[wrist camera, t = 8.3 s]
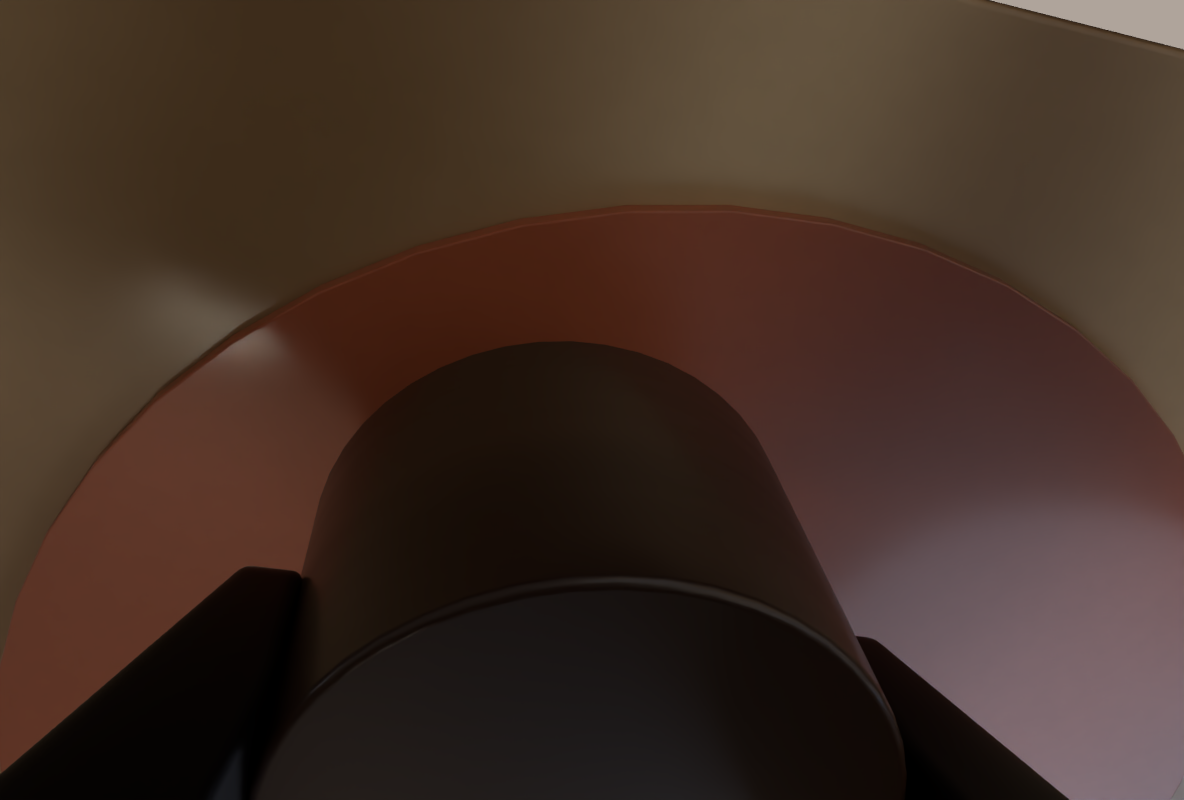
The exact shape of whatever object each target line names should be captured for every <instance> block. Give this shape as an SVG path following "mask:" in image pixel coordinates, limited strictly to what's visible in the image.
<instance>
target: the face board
mask: <svg viewBox="0 0 1184 800" xmlns="http://www.w3.org/2000/svg"><path fill="white" fill-rule="evenodd" d="M551 341H575V342H585V343H595V344H604V345H609V346H613V347H618V348H622V349H626V350H631V351H635V352H639V353H642V354H644V355H647V356H650V357H653V358H655V359H658V360H661V361H663V362H666V363H669V364H671V365H672V366H674V367H676V368H678V369H680V370H682V371H684V372H686V373H688V374H690V375H691V376H693V377H695V378H697V379H698V380H699V381H701V382H702V383H704V384H705V385H706V386H708V387H709V388H711V389H712V390H713V391H715V392H716V393H718V394H719V395H720V396H721V397H722V398H723V399H724V400H725V401H726V402H727V403H728V404H729V405H730V406H732V407H733V408H734V409H735V410H736V411H737V412H738V413H739V414H740V415H741V417H742V418H743V419H744V421H745V422H746V423H747V425H748V426H749V427H750V428H751V430H752V431H753V432H754V434H755V435H756V436H757V438H758V440H759V442H760V444H761V446H762V447H763V449H764V451H765V453H766V455H767V457H768V459H769V460H770V463H771V465H772V467H773V469H774V471H775V473H776V475H777V477H778V479H779V481H780V483H781V485H782V487H783V489H784V491H785V493H786V495H787V497H788V499H789V501H790V503H791V505H792V507H793V509H794V511H795V513H796V515H797V518H798V520H799V522H800V524H801V526H802V528H803V530H804V532H805V534H806V536H807V538H808V540H809V542H810V544H811V546H812V548H813V550H814V552H815V554H816V556H817V558H818V560H819V562H820V564H821V566H822V568H823V570H824V573H825V575H826V577H827V579H828V581H829V583H830V585H831V587H832V589H833V591H834V593H835V595H836V597H837V599H838V601H839V603H840V605H841V607H842V609H843V611H844V613H845V615H846V617H847V619H848V621H849V623H850V625H851V628H852V630H853V632H854V634H855V636H862V637H869V638H872V639H874V640H877V641H878V642H879V643H881V644H882V645H883V646H884V647H886V648H887V649H888V650H889V651H890V652H892V653H893V654H894V655H895V656H896V657H898V658H899V659H900V660H901V661H902V662H904V663H905V664H906V665H907V666H909V667H910V668H911V669H912V670H913V671H915V672H916V673H917V674H918V675H919V676H921V677H922V678H923V679H924V680H925V681H927V682H928V683H929V684H930V685H932V686H933V687H934V688H935V689H936V690H938V691H939V692H940V693H941V694H942V695H944V696H945V697H946V698H947V699H948V700H950V701H951V702H952V703H953V704H955V705H956V706H957V707H958V708H959V709H961V710H962V711H963V712H964V713H965V714H967V715H968V716H969V717H970V718H971V719H973V720H974V721H975V722H976V723H977V724H979V725H980V726H981V727H982V728H984V729H985V730H986V731H987V732H988V733H990V734H991V735H992V736H993V737H994V738H996V739H997V740H998V741H999V742H1000V743H1002V744H1003V745H1004V746H1005V747H1007V748H1008V749H1009V750H1010V751H1011V752H1013V753H1014V754H1015V755H1016V756H1017V757H1019V758H1020V759H1021V760H1022V761H1023V762H1025V763H1026V764H1027V765H1028V766H1029V767H1031V768H1032V769H1033V770H1034V771H1036V772H1037V773H1038V774H1039V775H1040V776H1042V777H1043V778H1044V779H1045V780H1046V781H1048V782H1049V783H1050V784H1051V785H1052V786H1054V787H1055V788H1056V789H1057V790H1059V791H1060V792H1061V793H1062V794H1063V795H1065V796H1066V797H1067V798H1068V799H1069V800H1184V50H1183V49H1180V48H1176V47H1171V46H1168V45H1164V44H1160V43H1156V42H1152V41H1148V40H1144V39H1140V38H1136V37H1132V36H1128V35H1124V34H1120V33H1117V32H1112V31H1109V30H1105V29H1100V28H1097V27H1093V26H1089V25H1085V24H1081V23H1077V22H1073V21H1069V20H1065V19H1061V18H1057V17H1053V16H1050V15H1046V14H1041V13H1037V12H1034V11H1030V10H1026V9H1022V8H1018V7H1014V6H1010V5H1006V4H1002V3H998V2H994V1H990V0H0V774H1V773H2V772H3V771H4V770H6V769H7V768H8V767H9V766H10V765H11V764H13V763H14V762H15V761H16V760H17V759H18V758H20V757H21V756H22V755H23V754H24V753H25V752H27V751H28V750H29V749H30V748H31V747H32V746H34V745H35V744H36V743H37V742H38V741H39V740H41V739H42V738H43V737H44V736H45V735H46V734H48V733H49V732H50V731H51V730H52V729H53V728H55V727H56V726H57V725H58V724H59V723H60V722H62V721H63V720H64V719H65V718H66V717H67V716H69V715H70V714H71V713H72V712H73V711H74V710H76V709H77V708H78V707H79V706H80V705H81V704H83V703H84V702H85V701H86V700H87V699H88V698H90V697H91V696H92V695H93V694H94V693H95V692H97V691H98V690H99V689H100V688H101V687H102V686H104V685H105V684H106V683H107V682H108V681H109V680H111V679H112V678H113V677H114V676H115V675H116V674H118V673H119V672H120V671H121V670H122V669H123V668H125V667H126V666H127V665H128V664H129V663H130V662H132V661H133V660H134V659H135V658H136V657H137V656H139V655H140V654H141V653H142V652H143V651H144V650H146V649H147V648H148V647H149V646H150V645H151V644H153V643H154V642H155V641H156V640H157V639H158V638H160V637H161V636H162V635H163V634H164V633H165V632H167V631H168V630H169V629H170V628H171V627H172V626H174V625H175V624H176V623H177V622H178V621H179V620H181V619H182V618H183V617H184V616H185V615H186V614H188V613H189V612H190V611H191V610H192V609H193V608H195V607H196V606H197V605H198V604H199V603H200V602H202V601H203V600H204V599H205V598H206V597H207V596H209V595H210V594H211V593H212V592H213V591H214V590H216V589H217V588H218V587H219V586H220V585H221V584H223V583H224V582H225V581H226V580H227V579H228V578H230V577H231V576H232V575H233V574H234V573H235V572H237V571H238V570H239V569H241V568H243V567H246V566H259V567H268V568H276V569H285V570H293V571H296V572H298V573H299V574H300V575H301V573H302V569H303V565H304V561H305V557H306V553H307V549H308V545H309V541H310V536H311V532H312V528H313V524H314V520H315V516H316V512H317V508H318V504H319V500H320V497H321V494H322V491H323V489H324V486H325V484H326V481H327V478H328V476H329V473H330V471H331V469H332V468H333V466H334V464H335V462H336V461H337V459H338V457H339V455H340V454H341V452H342V450H343V448H344V447H345V446H346V444H347V443H348V442H349V440H350V439H351V438H352V437H353V435H354V434H355V433H356V432H357V430H358V429H359V428H360V426H361V425H362V424H363V423H364V422H365V421H366V420H367V419H368V418H369V417H370V416H371V415H372V414H373V413H374V412H375V411H377V410H378V409H379V408H380V407H381V406H382V405H383V404H384V403H385V402H386V401H388V400H389V399H390V398H392V397H393V396H395V395H396V394H397V393H399V392H400V391H401V390H403V389H404V388H406V387H407V386H408V385H410V384H411V383H413V382H415V381H417V380H418V379H420V378H422V377H424V376H426V375H427V374H429V373H431V372H433V371H435V370H437V369H438V368H440V367H443V366H445V365H448V364H450V363H453V362H455V361H458V360H460V359H463V358H466V357H468V356H471V355H473V354H477V353H481V352H485V351H489V350H493V349H496V348H500V347H504V346H511V345H518V344H525V343H533V342H551Z"/></svg>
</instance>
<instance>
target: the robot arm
mask: <svg viewBox="0 0 1184 800" xmlns="http://www.w3.org/2000/svg"><path fill="white" fill-rule="evenodd" d="M301 584H302V578H301V575H300V574H299V573H298V572H296V571H293V570H285V569H276V568H268V567H259V566H246V567H243V568H241V569H239V570H238V571H237V572H235V573H234V574H233V575H232V576H231V577H230V578H228V579H227V580H226V581H225V582H224V583H223V584H221V585H220V586H219V587H218V588H217V589H216V590H214V591H213V592H212V593H211V594H210V595H209V596H207V597H206V598H205V599H204V600H203V601H202V602H200V603H199V604H198V605H197V606H196V607H195V608H193V609H192V610H191V611H190V612H189V613H188V614H186V615H185V616H184V617H183V618H182V619H181V620H179V621H178V622H177V623H176V624H175V625H174V626H172V627H171V628H170V629H169V630H168V631H167V632H165V633H164V634H163V635H162V636H161V637H160V638H158V639H157V640H156V641H155V642H154V643H153V644H151V645H150V646H149V647H148V648H147V649H146V650H144V651H143V652H142V653H141V654H140V655H139V656H137V657H136V658H135V659H134V660H133V661H132V662H130V663H129V664H128V665H127V666H126V667H125V668H123V669H122V670H121V671H120V672H119V673H118V674H116V675H115V676H114V677H113V678H112V679H111V680H109V681H108V682H107V683H106V684H105V685H104V686H102V687H101V688H100V689H99V690H98V691H97V692H95V693H94V694H93V695H92V696H91V697H90V698H88V699H87V700H86V701H85V702H84V703H83V704H81V705H80V706H79V707H78V708H77V709H76V710H74V711H73V712H72V713H71V714H70V715H69V716H67V717H66V718H65V719H64V720H63V721H62V722H60V723H59V724H58V725H57V726H56V727H55V728H53V729H52V730H51V731H50V732H49V733H48V734H46V735H45V736H44V737H43V738H42V739H41V740H39V741H38V742H37V743H36V744H35V745H34V746H32V747H31V748H30V749H29V750H28V751H27V752H25V753H24V754H23V755H22V756H21V757H20V758H18V759H17V760H16V761H15V762H14V763H13V764H11V765H10V766H9V767H8V768H7V769H6V770H4V771H3V772H2V773H1V774H0V800H247V797H248V790H249V785H250V780H251V776H252V773H253V770H254V766H255V763H256V759H257V756H258V753H259V749H260V746H261V743H262V739H263V736H264V732H265V729H266V725H267V721H268V717H269V714H270V710H271V706H272V702H273V698H274V694H275V690H276V686H277V682H278V678H279V674H280V670H281V666H282V661H283V657H284V653H285V649H286V645H287V641H288V637H289V633H290V629H291V625H292V621H293V616H294V612H295V608H296V604H297V600H298V596H299V592H300V588H301ZM856 638H857V640H858V642H859V644H860V646H861V648H862V650H863V652H864V654H865V656H866V658H867V660H868V662H869V664H870V666H871V668H872V670H873V672H874V674H875V676H876V678H877V680H878V683H879V685H880V687H881V689H882V691H883V693H884V695H885V697H886V699H887V701H888V703H889V705H890V707H891V709H892V711H893V713H894V716H895V719H896V722H897V725H898V728H899V731H900V734H901V737H902V740H903V745H904V753H905V761H906V769H907V781H906V796H905V800H1069V799H1068V798H1067V797H1066V796H1065V795H1063V794H1062V793H1061V792H1060V791H1059V790H1057V789H1056V788H1055V787H1054V786H1052V785H1051V784H1050V783H1049V782H1048V781H1046V780H1045V779H1044V778H1043V777H1042V776H1040V775H1039V774H1038V773H1037V772H1036V771H1034V770H1033V769H1032V768H1031V767H1029V766H1028V765H1027V764H1026V763H1025V762H1023V761H1022V760H1021V759H1020V758H1019V757H1017V756H1016V755H1015V754H1014V753H1013V752H1011V751H1010V750H1009V749H1008V748H1007V747H1005V746H1004V745H1003V744H1002V743H1000V742H999V741H998V740H997V739H996V738H994V737H993V736H992V735H991V734H990V733H988V732H987V731H986V730H985V729H984V728H982V727H981V726H980V725H979V724H977V723H976V722H975V721H974V720H973V719H971V718H970V717H969V716H968V715H967V714H965V713H964V712H963V711H962V710H961V709H959V708H958V707H957V706H956V705H955V704H953V703H952V702H951V701H950V700H948V699H947V698H946V697H945V696H944V695H942V694H941V693H940V692H939V691H938V690H936V689H935V688H934V687H933V686H932V685H930V684H929V683H928V682H927V681H925V680H924V679H923V678H922V677H921V676H919V675H918V674H917V673H916V672H915V671H913V670H912V669H911V668H910V667H909V666H907V665H906V664H905V663H904V662H902V661H901V660H900V659H899V658H898V657H896V656H895V655H894V654H893V653H892V652H890V651H889V650H888V649H887V648H886V647H884V646H883V645H882V644H881V643H879V642H878V641H877V640H874V639H872V638H869V637H862V636H856Z"/></svg>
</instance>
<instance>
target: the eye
mask: <svg viewBox="0 0 1184 800" xmlns="http://www.w3.org/2000/svg"><path fill="white" fill-rule="evenodd" d="M301 578H302V584H301V588H300V592H299V596H298V600H297V604H296V608H295V612H294V616H293V621H292V625H291V629H290V633H289V637H288V641H287V645H286V649H285V653H284V657H283V661H282V666H281V670H280V674H279V678H278V682H277V686H276V690H275V694H274V698H273V702H272V706H271V710H270V714H269V717H268V721H267V725H266V729H265V732H264V736H263V739H262V743H261V746H260V749H259V753H258V756H257V759H256V763H255V766H254V770H253V773H252V776H251V780H250V785H249V790H248V797H247V800H905V796H906V781H907V769H906V761H905V753H904V745H903V740H902V737H901V734H900V731H899V728H898V725H897V722H896V719H895V716H894V713H893V711H892V709H891V707H890V705H889V703H888V701H887V699H886V697H885V695H884V693H883V691H882V689H881V687H880V685H879V683H878V680H877V678H876V676H875V674H874V672H873V670H872V668H871V666H870V664H869V662H868V660H867V658H866V656H865V654H864V652H863V650H862V648H861V646H860V644H859V642H858V640H857V638H856V636H855V634H854V632H853V630H852V628H851V625H850V623H849V621H848V619H847V617H846V615H845V613H844V611H843V609H842V607H841V605H840V603H839V601H838V599H837V597H836V595H835V593H834V591H833V589H832V587H831V585H830V583H829V581H828V579H827V577H826V575H825V573H824V570H823V568H822V566H821V564H820V562H819V560H818V558H817V556H816V554H815V552H814V550H813V548H812V546H811V544H810V542H809V540H808V538H807V536H806V534H805V532H804V530H803V528H802V526H801V524H800V522H799V520H798V518H797V515H796V513H795V511H794V509H793V507H792V505H791V503H790V501H789V499H788V497H787V495H786V493H785V491H784V489H783V487H782V485H781V483H780V481H779V479H778V477H777V475H776V473H775V471H774V469H773V467H772V465H771V463H770V460H769V459H768V457H767V455H766V453H765V451H764V449H763V447H762V446H761V444H760V442H759V440H758V438H757V436H756V435H755V434H754V432H753V431H752V430H751V428H750V427H749V426H748V425H747V423H746V422H745V421H744V419H743V418H742V417H741V415H740V414H739V413H738V412H737V411H736V410H735V409H734V408H733V407H732V406H730V405H729V404H728V403H727V402H726V401H725V400H724V399H723V398H722V397H721V396H720V395H719V394H718V393H716V392H715V391H713V390H712V389H711V388H709V387H708V386H706V385H705V384H704V383H702V382H701V381H699V380H698V379H697V378H695V377H693V376H691V375H690V374H688V373H686V372H684V371H682V370H680V369H678V368H676V367H674V366H672V365H671V364H669V363H666V362H663V361H661V360H658V359H655V358H653V357H650V356H647V355H644V354H642V353H639V352H635V351H631V350H626V349H622V348H618V347H613V346H609V345H604V344H595V343H585V342H575V341H551V342H533V343H525V344H518V345H511V346H504V347H500V348H496V349H493V350H489V351H485V352H481V353H477V354H473V355H471V356H468V357H466V358H463V359H460V360H458V361H455V362H453V363H450V364H448V365H445V366H443V367H440V368H438V369H437V370H435V371H433V372H431V373H429V374H427V375H426V376H424V377H422V378H420V379H418V380H417V381H415V382H413V383H411V384H410V385H408V386H407V387H406V388H404V389H403V390H401V391H400V392H399V393H397V394H396V395H395V396H393V397H392V398H390V399H389V400H388V401H386V402H385V403H384V404H383V405H382V406H381V407H380V408H379V409H378V410H377V411H375V412H374V413H373V414H372V415H371V416H370V417H369V418H368V419H367V420H366V421H365V422H364V423H363V424H362V425H361V426H360V428H359V429H358V430H357V432H356V433H355V434H354V435H353V437H352V438H351V439H350V440H349V442H348V443H347V444H346V446H345V447H344V448H343V450H342V452H341V454H340V455H339V457H338V459H337V461H336V462H335V464H334V466H333V468H332V469H331V471H330V473H329V476H328V478H327V481H326V484H325V486H324V489H323V491H322V494H321V497H320V500H319V504H318V508H317V512H316V516H315V520H314V524H313V528H312V532H311V536H310V541H309V545H308V549H307V553H306V557H305V561H304V565H303V569H302V573H301Z"/></svg>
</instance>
